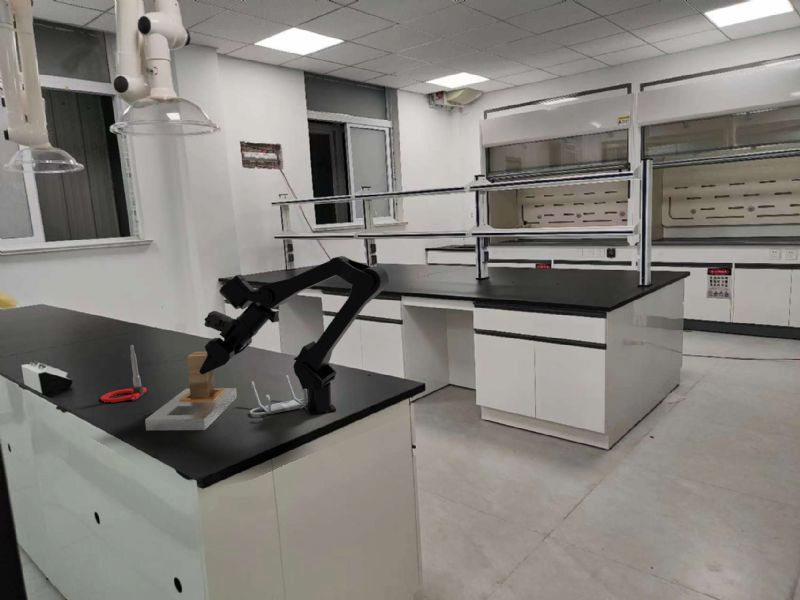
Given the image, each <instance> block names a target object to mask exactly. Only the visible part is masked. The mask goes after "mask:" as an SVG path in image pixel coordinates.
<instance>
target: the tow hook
mask: <svg viewBox="0 0 800 600" xmlns="http://www.w3.org/2000/svg"><path fill="white" fill-rule="evenodd" d="M129 346H130V348H129V349H130V360H131V361H130V362H131V368H132V382H133V387H132V388H125V389H118V390H113V391H110V392H107V393H105V394H103V395H102V396H101V397H100V400H102V401H104V402H103V403H106V402H107V404H109V403H108V402H111V403H119V402H125V401H129V400H130V401H133V402H134V401H136V400H138V399H139V398H141V397H142V396H143V395H144V394H145V393H146V392H147V387H144V386H143V385H142V381H141V376H140V375H139V368H138V361H137V354H136V353H135V347H134V344H131V345H129ZM117 394H119V395H122V394H123V396H119V397H114V396H113V395H115V396H118V395H117ZM124 394H127V395H124ZM111 396H112V397H111ZM109 397H110V398H109ZM102 401H101V402H102Z"/></svg>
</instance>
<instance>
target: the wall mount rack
mask: <svg viewBox="0 0 800 600" xmlns="http://www.w3.org/2000/svg"><path fill="white" fill-rule="evenodd" d="M284 376H285V377H284V378H285V380H286V382H287V385H288V388H289V391H290V393H291V396H292V398H293V399H292V400H287V401H281V402H276V403H272V404H271V396H270V395H269V394H266V395H265V398H266V400H267V402H268V403H267V405H263V404H262V403H261V400H260V398H259V395H258V391H257V389H256V385H255V381H252V380H251V382H250V386H251V388H252V390H253V393H254V395H255V398H256V401H257V404H258V406H259V407H256V408H252V409H251V410H249V414H250V415H253V416H261V415H273V414H278V413H281V412H288V411H292V410H297V409H302V407H303V408H304V406H307V405H308V404H307V389H303V388H302V387H301V389H300V392H302V393H303V398H300V399H299V398H297V397H296V395H295V392H294V390H293V387H292V384H291V381H290V377H289V375H287V374H286V375H284ZM259 410H264V411H263V412H262V411H261V412H256V411H259Z"/></svg>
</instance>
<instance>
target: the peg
mask: <svg viewBox="0 0 800 600" xmlns="http://www.w3.org/2000/svg"><path fill="white" fill-rule="evenodd" d="M206 357H207V351H194V352H192V353H191V354H188V355H187V368H188V383H189V389H190V397H191V398H211V397H212V396H213V395H214V394H215V388H216V387H215V374H214V370H212V371H209V372H207V373H205V374H203V375H202V374H201V373H200V372H199V371H200V369H201V367H202V365H203V363H204V361H205V359H206Z"/></svg>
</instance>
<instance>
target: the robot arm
mask: <svg viewBox="0 0 800 600" xmlns="http://www.w3.org/2000/svg"><path fill="white" fill-rule="evenodd" d="M337 276H338V277H340V278H341V279H342V280H344V281H346V282H347V283H349V284H351V288H350V292H349V295H348V297H347V300H346V301H345V302H344V303H343V305H342V306H341V308H340V309H339V310H338V312H337V313H336V315H335V316H334V317H333V318H332V320H331V321H330V323H329V324H328V326H327V327H326V329H325V330H324V331H323V333H322V335H320V337H319V338H318V340H317V341H316V342H315V340H312V341H311V342H309V343H307V344H306V345H303V346H302V347H301V350H300V351H299V354H298V355H297V356H296V357H294V358H293V360H294V361H295V362H294V364H293V366H292V368H293V370H294V374H295V376H296V377H297V378H298V381H299V383H300V386H301V389H302V388H303V389H305V390H306V399H307V404H308V405H307V406H303V408H304V409H305V411H306V412H307V413H308V414H309V415H310V416H311V415H318V414H322V413H321V412H324V413H327V412H326V411H331V412H333V411H332V410H336V411H337V407H335V405H334V404H333V403H332V386H331V385H332V384H331V382H332V381H334V380H335V379H336V375H337V371H336V370H335V369H334V367H332V366H331V364H329V363H330V360H331V357H332V354H333V350H334V349H335V347H336V346H337V344H338V343H339V342H340V341H341V339H342V338H343V336H345V334H346V332H347V331H348V330H349V328H350V327H351V326H352V325H353V323H354V321H355V320H356V319H357V318H358V316H359V315H360V313H361V312H362V310H363V309H364V308H365V306H367V305H368V304H369V303H370V302H371V301H372V300H374V299H375V297H377V296H378V295H379V294H381V292H383V290H385V289H386V288H387V286H388V285H389V281H390V280H389V274H388V272H387V270H385V268H383V267H381V266H379V265H378V266H377V265H374V266H371V265H368V264H365V263H362V262H359V261H356V260H352V259H350V258H348V257H346V256H343V255H341V256H336V257H333V258H331V259H329V260H328V261H326V262H324V263H323V262H322V263H321V264H319V265H317V266H315V267H312V268H310V269H308V270H306V271H304V272H301V273H299V274H296V275H294V276H292V277H290V278H286V279H282V280H281V279H280V280H278V281H274V282H269V283H265V284H262V285H260V287H258V288H254V287H253V286H252V285H251V284H250V283H249V282H248V281H247V280H246V279H245V277H244V276H243V275H242V274H236V275H235V276H234V277H233V278H231V279H229V281H228V280H227V281H228V282H226V283H225V284H222V286H221V287H220V289H219V294H220V295H221V296H222V297H223V298H224V299H225V300H226V301H227V302H228V303H229V304H230V305H231V306H232V307H233V309H234V310H239V309H241V310H244V311H242V313H241V314H240V315H239V316H237V317H236V318H233V317H231V316H229V315H226V314H224V313H222V312H220V311H217V310H213V311H210V312H208V315H207V316H206V317H204V326H205V327H206V328H211V329H213V330H215V331H218V332H220V333H219V335H220V337H214V338H212V339H210V340H209V341H208V342H207V343H206V344H205V345H204V349H205V352H207V357H206V359H205V361H204V363H203V365H202V367H201V369H200V371H199V372H200V373H201V374H202V375H203V374H205V373H207V372H209V371H212V370H213V371H214V370H216V369H219V368H221V367H223V366H225V365H226V364H228V363H229V362H230V361H232V359H233V358H234V357H235V356H236V355H238V354H240V353H242V352H243V351H245V350H246V349H247V348H248V347H249V346H250V345H251V344H252V342H253V337H255V336H256V335H257V334H258V333H259V331H260V330H261V328H262V327H264V325H266V324H267V322H268V321H270V322H271V324H272V323H278V322H279V321H280V318H279V313H280V311H278V310H273V308H276V307H278V306H281V305H285V304H286V303H288V302H289V301H291V300H292V299H294V298H295V297H296V296H297V295H298V294H300V293H301V292H302V291H304V290H307V289H309V288H312V287H313V286H316V285H318V284H320V283H323V282H325V281H327V280H329V279H332V278H335V277H337ZM221 337H222V338H221ZM317 413H318V414H317Z"/></svg>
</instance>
